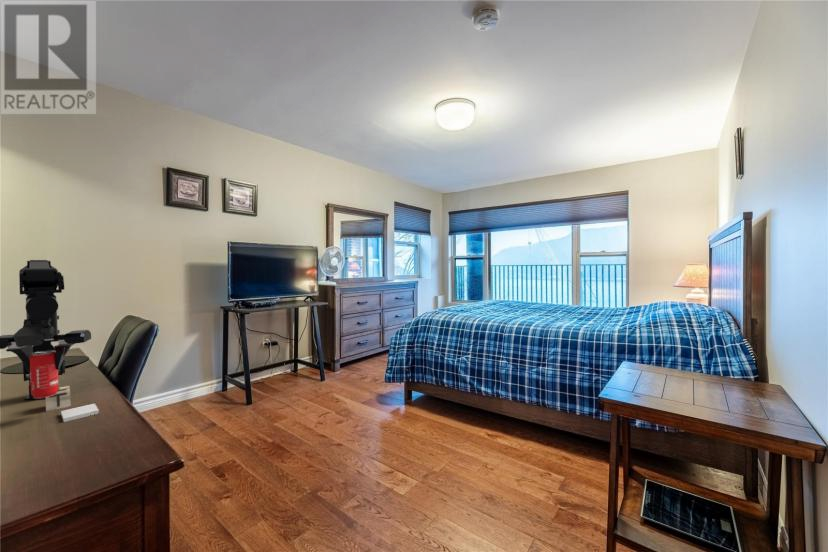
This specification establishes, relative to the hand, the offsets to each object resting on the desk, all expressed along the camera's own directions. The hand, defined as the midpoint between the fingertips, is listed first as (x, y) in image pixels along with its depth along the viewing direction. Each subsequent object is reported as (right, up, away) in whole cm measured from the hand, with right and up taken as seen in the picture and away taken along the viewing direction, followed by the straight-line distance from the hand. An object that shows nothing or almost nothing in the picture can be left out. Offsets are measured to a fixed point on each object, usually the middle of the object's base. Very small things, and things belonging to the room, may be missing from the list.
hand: (44, 370), depth 96 cm
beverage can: (0, -7, 0) cm, 7 cm away
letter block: (-3, -13, +7) cm, 15 cm away
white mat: (+8, -13, +2) cm, 15 cm away
